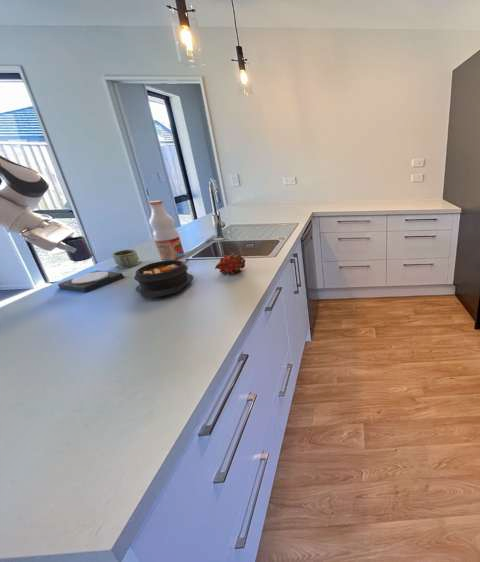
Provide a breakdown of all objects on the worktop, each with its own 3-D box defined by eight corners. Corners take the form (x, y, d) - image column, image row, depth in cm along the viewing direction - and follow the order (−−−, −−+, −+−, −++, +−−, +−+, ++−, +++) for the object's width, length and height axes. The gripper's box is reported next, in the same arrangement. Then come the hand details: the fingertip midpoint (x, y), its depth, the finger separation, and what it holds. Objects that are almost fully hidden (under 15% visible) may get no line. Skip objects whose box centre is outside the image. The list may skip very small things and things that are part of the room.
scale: (60, 289, 115) (56, 282, 113) (99, 275, 127) (96, 268, 126) (86, 292, 111) (83, 286, 110) (124, 278, 123) (121, 271, 122)
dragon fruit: (250, 273, 129) (221, 283, 124) (243, 258, 132) (215, 267, 127) (247, 262, 122) (216, 272, 117) (240, 246, 125) (209, 256, 120)
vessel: (117, 263, 139) (112, 250, 136) (140, 259, 144) (135, 246, 141) (116, 271, 130) (110, 257, 128) (141, 266, 135) (136, 253, 132)
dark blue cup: (66, 261, 112) (56, 240, 109) (85, 255, 118) (76, 236, 115) (78, 262, 111) (69, 242, 107) (97, 257, 116) (88, 237, 113)
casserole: (193, 295, 107) (186, 273, 104) (130, 307, 100) (120, 284, 97) (196, 271, 128) (191, 253, 124) (144, 280, 121) (136, 260, 117)
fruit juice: (163, 262, 140) (142, 201, 128) (186, 258, 144) (168, 198, 133) (162, 268, 132) (140, 204, 121) (186, 263, 137) (168, 201, 125)
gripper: (22, 224, 96) (75, 248, 104) (48, 213, 113) (92, 235, 121) (10, 240, 96) (64, 263, 104) (38, 226, 113) (82, 247, 121)
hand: (79, 247), depth 113 cm, fingers closed on dark blue cup, 6 cm apart
